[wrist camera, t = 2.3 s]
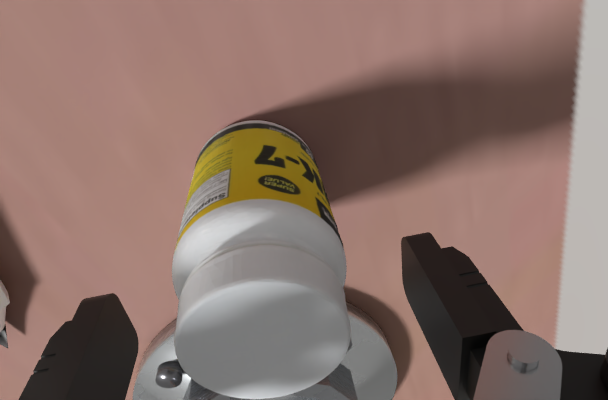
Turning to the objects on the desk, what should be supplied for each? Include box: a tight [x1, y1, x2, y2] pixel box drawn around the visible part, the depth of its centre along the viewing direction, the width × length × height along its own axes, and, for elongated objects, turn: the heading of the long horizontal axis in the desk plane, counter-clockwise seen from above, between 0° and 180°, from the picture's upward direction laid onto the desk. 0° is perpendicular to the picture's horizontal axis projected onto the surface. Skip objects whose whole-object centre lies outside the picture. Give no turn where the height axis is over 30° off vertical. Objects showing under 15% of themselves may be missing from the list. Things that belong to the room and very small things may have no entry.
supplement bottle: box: [172, 120, 351, 399], centre depth 13 cm, size 5×5×8 cm
